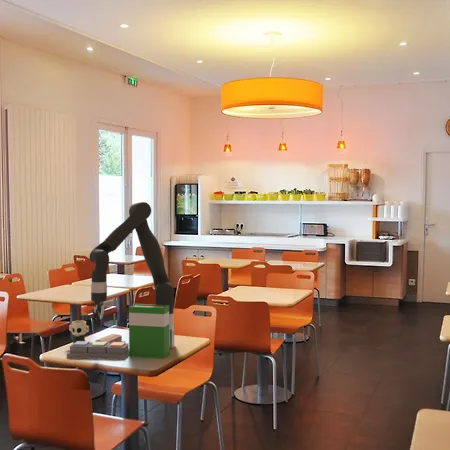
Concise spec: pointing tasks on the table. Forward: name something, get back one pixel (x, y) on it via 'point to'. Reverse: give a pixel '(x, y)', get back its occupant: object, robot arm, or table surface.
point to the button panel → (98, 351)
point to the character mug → (78, 330)
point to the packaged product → (111, 338)
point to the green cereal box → (149, 330)
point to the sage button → (99, 344)
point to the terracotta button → (117, 344)
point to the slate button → (81, 343)
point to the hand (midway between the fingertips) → (98, 326)
